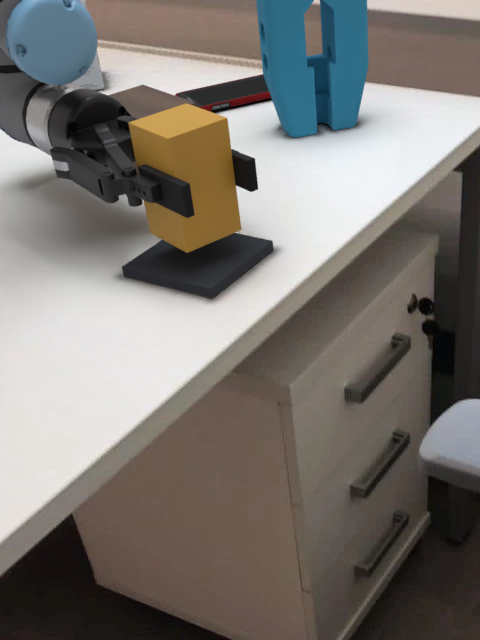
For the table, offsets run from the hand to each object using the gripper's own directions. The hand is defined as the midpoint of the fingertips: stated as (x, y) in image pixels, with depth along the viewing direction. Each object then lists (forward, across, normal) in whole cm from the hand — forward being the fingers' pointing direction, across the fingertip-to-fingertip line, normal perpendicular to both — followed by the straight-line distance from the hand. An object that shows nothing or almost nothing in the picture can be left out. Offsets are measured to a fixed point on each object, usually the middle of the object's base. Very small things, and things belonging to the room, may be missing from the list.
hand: (221, 187), depth 73 cm
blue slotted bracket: (-24, +31, +9) cm, 40 cm away
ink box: (-64, +22, +9) cm, 68 cm away
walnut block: (-33, +11, +9) cm, 35 cm away
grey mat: (-5, 0, +9) cm, 10 cm away
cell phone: (-41, +31, +9) cm, 52 cm away
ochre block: (-5, 0, +6) cm, 8 cm away
